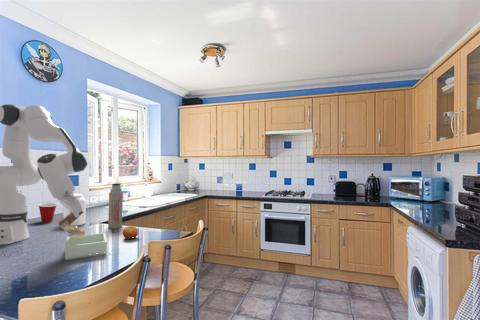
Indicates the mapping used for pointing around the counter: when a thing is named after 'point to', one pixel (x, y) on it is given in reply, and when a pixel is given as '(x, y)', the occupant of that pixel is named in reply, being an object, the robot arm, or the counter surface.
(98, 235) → the bin
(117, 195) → the thermos bottle
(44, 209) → the plastic cup
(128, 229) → the fruit
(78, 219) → the white jar
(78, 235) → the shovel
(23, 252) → the counter surface
